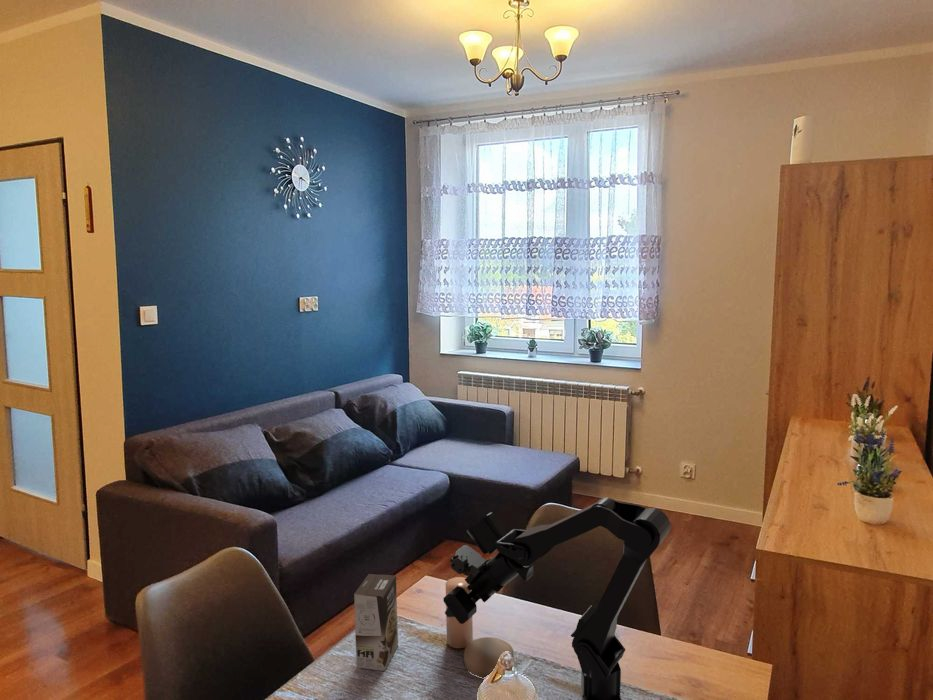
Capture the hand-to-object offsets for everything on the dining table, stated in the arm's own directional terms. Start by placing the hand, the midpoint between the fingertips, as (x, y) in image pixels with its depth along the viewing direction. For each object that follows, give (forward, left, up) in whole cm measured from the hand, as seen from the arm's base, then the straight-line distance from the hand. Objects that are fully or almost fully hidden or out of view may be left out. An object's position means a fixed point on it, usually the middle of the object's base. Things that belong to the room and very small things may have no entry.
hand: (453, 607), depth 140 cm
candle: (-1, +1, -7) cm, 7 cm away
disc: (-7, +8, -8) cm, 13 cm away
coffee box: (+16, +5, -8) cm, 18 cm away
